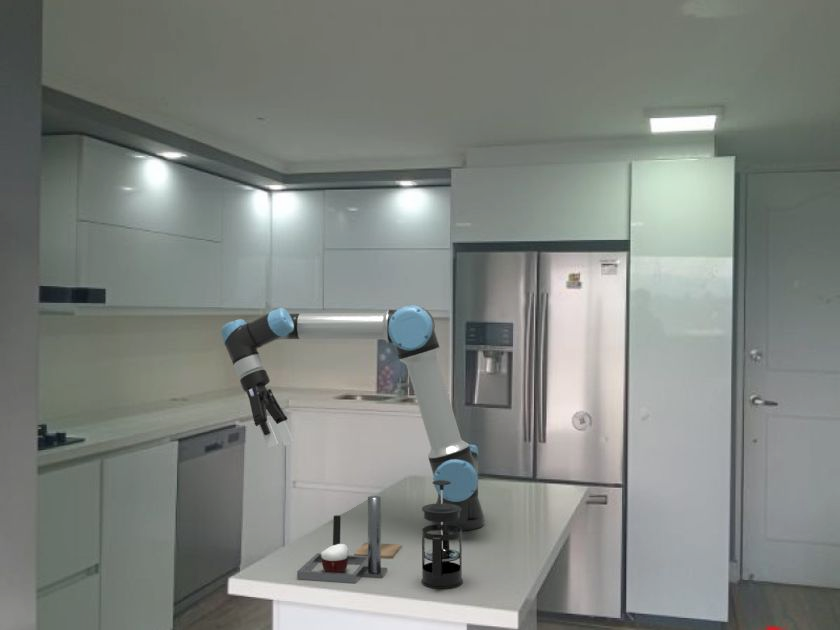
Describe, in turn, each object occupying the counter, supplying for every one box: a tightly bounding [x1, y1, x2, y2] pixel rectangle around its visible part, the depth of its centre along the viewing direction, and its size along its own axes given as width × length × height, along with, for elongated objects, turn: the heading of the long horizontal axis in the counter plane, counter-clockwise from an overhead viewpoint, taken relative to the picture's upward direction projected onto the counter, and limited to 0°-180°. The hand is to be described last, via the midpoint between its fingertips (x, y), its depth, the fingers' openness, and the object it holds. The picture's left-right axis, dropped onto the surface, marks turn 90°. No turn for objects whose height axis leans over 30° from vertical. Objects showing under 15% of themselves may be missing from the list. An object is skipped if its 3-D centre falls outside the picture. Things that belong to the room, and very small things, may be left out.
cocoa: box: [321, 514, 349, 573], centre depth 187 cm, size 10×6×12 cm, turn 157°
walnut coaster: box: [353, 542, 403, 559], centre depth 203 cm, size 10×10×1 cm
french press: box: [420, 480, 464, 590], centre depth 179 cm, size 12×9×23 cm
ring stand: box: [296, 495, 388, 584], centre depth 187 cm, size 19×14×18 cm
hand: (281, 445), depth 215 cm, fingers open, 13 cm apart
